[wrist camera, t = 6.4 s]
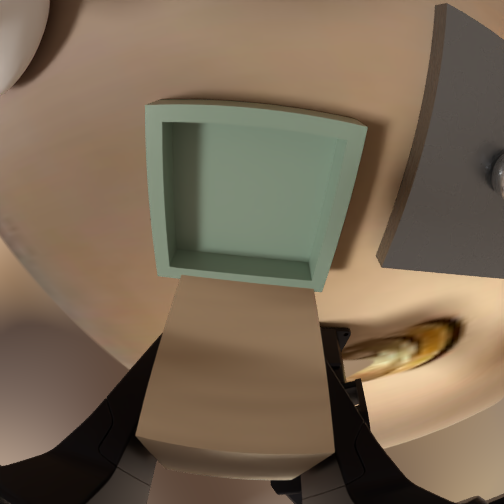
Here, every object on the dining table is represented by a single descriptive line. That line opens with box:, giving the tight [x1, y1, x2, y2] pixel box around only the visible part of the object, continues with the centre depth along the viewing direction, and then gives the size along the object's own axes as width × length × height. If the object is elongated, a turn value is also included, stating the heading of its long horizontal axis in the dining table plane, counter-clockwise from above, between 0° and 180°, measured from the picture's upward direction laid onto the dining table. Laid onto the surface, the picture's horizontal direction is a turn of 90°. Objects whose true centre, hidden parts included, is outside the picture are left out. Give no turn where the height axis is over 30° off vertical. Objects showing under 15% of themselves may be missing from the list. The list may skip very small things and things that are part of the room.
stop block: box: [135, 275, 335, 480], centre depth 8 cm, size 4×4×5 cm
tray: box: [145, 99, 368, 292], centre depth 18 cm, size 12×12×2 cm
